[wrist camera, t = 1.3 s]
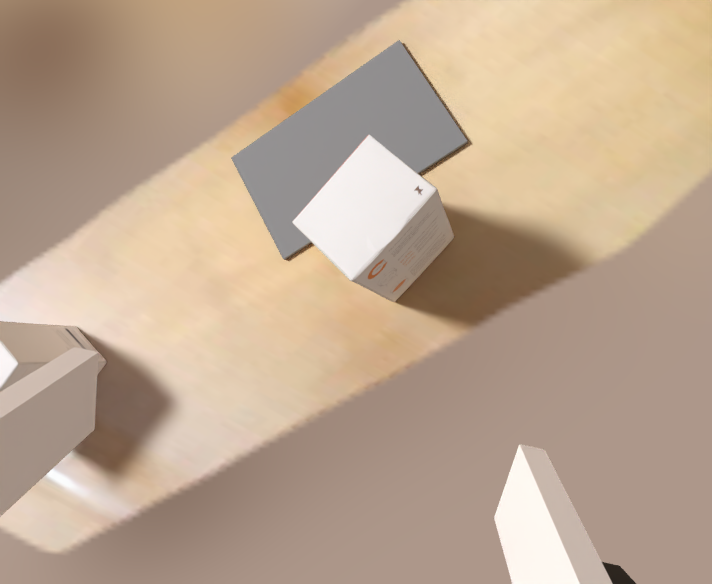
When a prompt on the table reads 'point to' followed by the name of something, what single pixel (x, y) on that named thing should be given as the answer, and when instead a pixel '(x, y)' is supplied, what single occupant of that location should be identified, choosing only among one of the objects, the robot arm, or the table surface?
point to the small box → (377, 221)
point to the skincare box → (36, 348)
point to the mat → (345, 139)
